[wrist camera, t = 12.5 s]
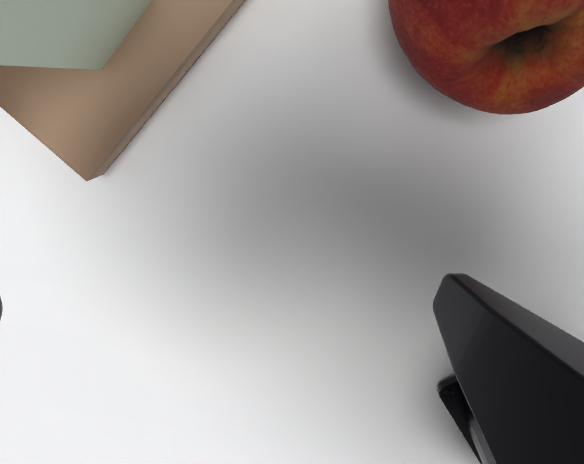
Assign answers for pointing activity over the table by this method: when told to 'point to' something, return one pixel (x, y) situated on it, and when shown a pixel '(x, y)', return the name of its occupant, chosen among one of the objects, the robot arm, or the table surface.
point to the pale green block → (65, 31)
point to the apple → (495, 50)
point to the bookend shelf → (113, 84)
